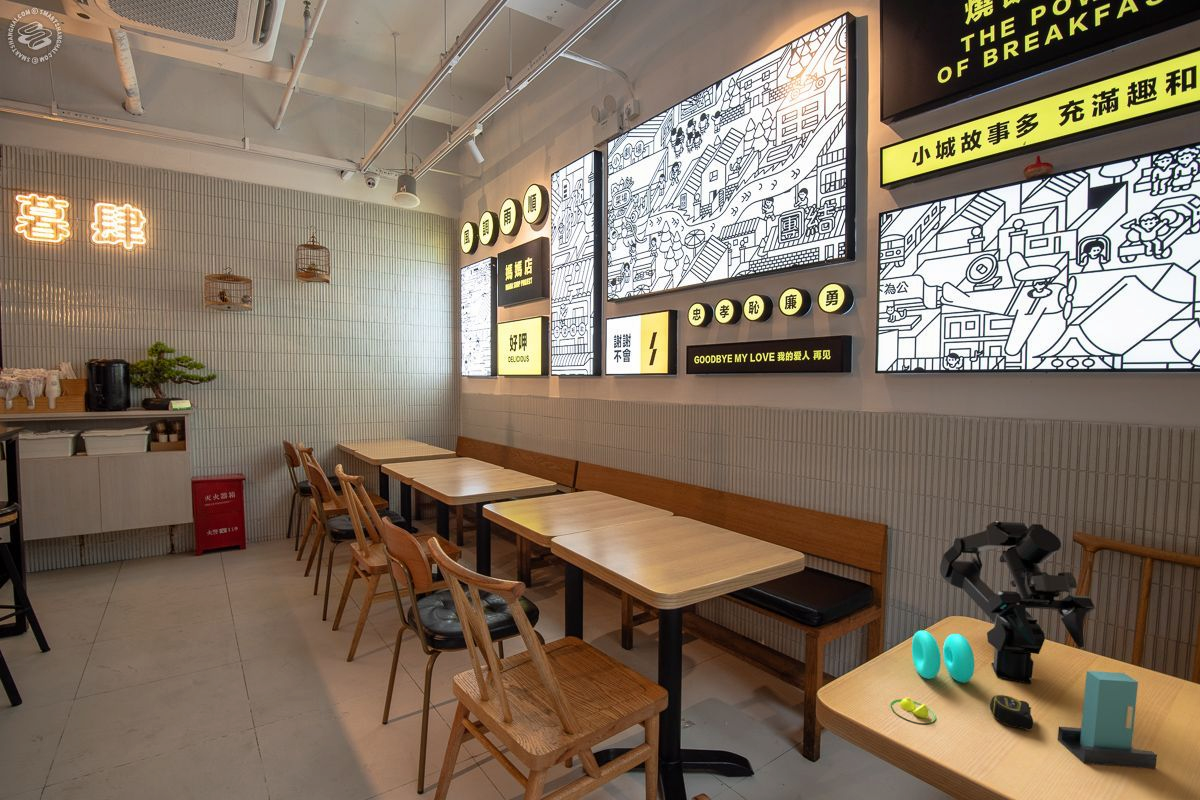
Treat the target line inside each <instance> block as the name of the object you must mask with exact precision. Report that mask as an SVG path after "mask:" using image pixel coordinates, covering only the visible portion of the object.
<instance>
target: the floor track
mask: <svg viewBox="0 0 1200 800" xmlns="http://www.w3.org/2000/svg"><path fill="white" fill-rule="evenodd" d="M1080 738H1081V727H1071V726H1069V727H1068V726H1058V730H1057V741H1058V742H1060V744H1062V746H1064V747H1065V748H1066V749H1067V750H1069V752H1070V753H1072V754H1073V755H1074V757H1076V758H1077V759H1078V760H1079V761H1081V763H1083V764H1089V765H1100V766H1111V767H1112V766H1115V767H1126V768H1138V769H1154V770H1156V768H1157V760H1158V759H1157V758H1158V754H1157V753H1156V752H1154V751H1153V750H1144V749H1143V750H1142V749H1136V748H1134V747H1133V746H1132V749H1119V748H1106V747H1092V746H1082V745H1081V744H1080Z"/></svg>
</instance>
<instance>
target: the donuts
mask: <svg viewBox="0 0 1200 800" xmlns="http://www.w3.org/2000/svg"><path fill="white" fill-rule="evenodd" d="M969 642H970V641H968V640H967V638H966V637H964V635H961V634H959V633H952V634H949V635H948V636H947V637H946V639H945V640H944V644H943V648H942V657H943V662H944V666H945V668H946V670H947V672H948V674H949V675H950V676H951V678H952V679H953V680H955V681H956V682H959V683H967V682H969V681H970V680H971V679H972V678H973V676H974V672H975V657H974V652H973V649H972V646H971V644H970V643H969ZM911 656H912V661H913V665H914V668H915V670H916V672H917V673H918V674H919V675H920V676H921V677H922V678H924V679H927V680H930V679H933V678H935V677H936V676H937V675H938V673H939V671H940V668H941V659H942V657H941V651H940V647H939V644H938V642H937V639H936V638H935V637H934V636H933V634H931V633H930V632H929V631H926V630H918V631H916V632H915V633H914V635H913V637H912V641H911Z"/></svg>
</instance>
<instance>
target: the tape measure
mask: <svg viewBox="0 0 1200 800" xmlns="http://www.w3.org/2000/svg"><path fill="white" fill-rule="evenodd" d="M989 702H990V704H989V710H990V712H991V714H992V716H993V717H994V718H995V719H996V720H997V721H999V722H1000V723H1003V724H1005V725H1007V726H1009V727H1014V728H1019V729H1023V730H1032V729H1033V728H1034V719H1033V716H1032V714H1031V711H1032V707H1030V704H1029V703H1028V702H1027V701H1024V700H1019V699H1017V698H1014V697H1012V696H1009V695H1005V694H996V695H994V696H993V697H992V698H991V700H990V701H989Z"/></svg>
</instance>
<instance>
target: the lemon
mask: <svg viewBox="0 0 1200 800" xmlns="http://www.w3.org/2000/svg"><path fill="white" fill-rule="evenodd" d="M896 703H899V706H900V708H901V709H903V710H904V711H907V712H912V713H913V714H914V715H915V716H917V718H922V719H929V713H930V714H931V715H932V718H933V719H932V721H929V722H928V724H930V723H933V722H934V721H936V719H937V717H936V714H935V712H934V711H932V710H931V709H930V708H929V707H928V706H927V705H926V703H923V704H921V703H919V702H917V701H914V700H912V699H911V698H910V697H909V696H907V697H906V698H905V697H904V698H903V699H895V700H892V702H891V703H890V708H891V710H892V711H893V712H894V713H895V714H897V712H896V711H895V709H894V707H893V708H892V705H893V706H894V705H895V704H896ZM916 705H918V707H917V706H916ZM893 709H894V710H893Z"/></svg>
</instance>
